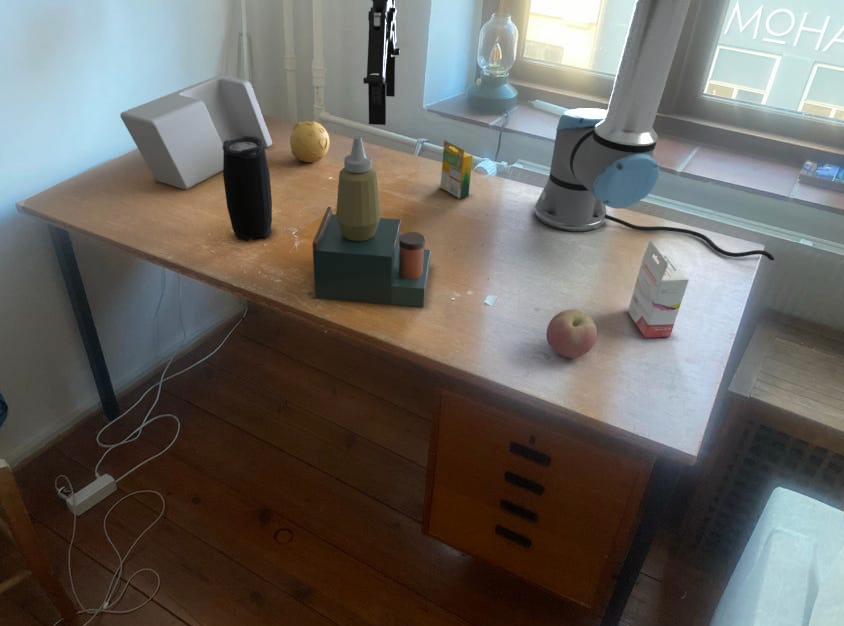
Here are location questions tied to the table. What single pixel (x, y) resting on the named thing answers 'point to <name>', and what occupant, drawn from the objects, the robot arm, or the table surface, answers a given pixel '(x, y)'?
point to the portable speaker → (247, 187)
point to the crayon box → (456, 170)
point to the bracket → (195, 128)
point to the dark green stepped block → (364, 266)
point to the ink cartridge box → (657, 294)
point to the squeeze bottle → (358, 196)
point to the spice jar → (411, 255)
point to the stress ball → (309, 141)
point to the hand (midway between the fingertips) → (382, 109)
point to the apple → (571, 333)
